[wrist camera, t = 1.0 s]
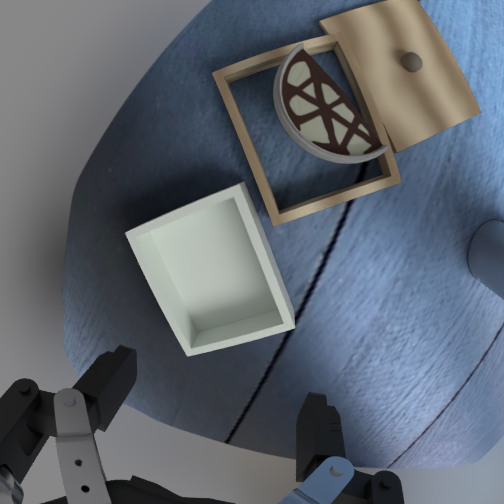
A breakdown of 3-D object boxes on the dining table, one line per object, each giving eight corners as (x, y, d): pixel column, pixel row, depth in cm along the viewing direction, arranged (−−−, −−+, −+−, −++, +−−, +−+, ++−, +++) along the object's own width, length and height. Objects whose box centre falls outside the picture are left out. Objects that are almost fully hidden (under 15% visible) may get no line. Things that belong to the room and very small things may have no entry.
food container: (251, 100, 31) (241, 78, 22) (293, 70, 30) (298, 37, 20) (320, 184, 33) (337, 193, 24) (361, 153, 32) (392, 151, 22)
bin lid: (410, -3, 24) (416, -9, 22) (477, 113, 28) (486, 111, 26) (318, 24, 27) (320, 16, 25) (394, 152, 31) (401, 152, 29)
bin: (244, 181, 34) (239, 184, 30) (293, 309, 38) (295, 328, 34) (141, 224, 37) (125, 232, 32) (196, 337, 41) (187, 356, 36)
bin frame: (337, 41, 28) (342, 31, 25) (392, 180, 32) (401, 182, 29) (217, 79, 31) (211, 72, 28) (274, 221, 35) (273, 226, 32)
